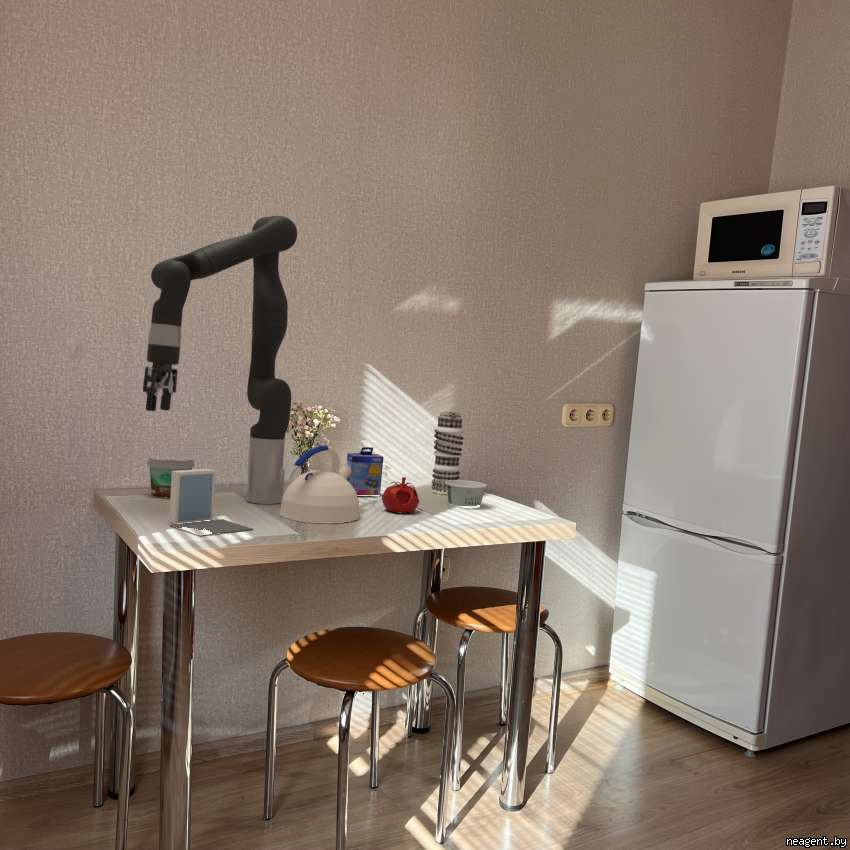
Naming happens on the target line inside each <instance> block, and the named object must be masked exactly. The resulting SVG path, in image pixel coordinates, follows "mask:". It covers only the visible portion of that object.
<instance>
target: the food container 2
mask: <svg viewBox="0 0 850 850" xmlns="http://www.w3.org/2000/svg"><path fill="white" fill-rule="evenodd" d="M445 483H446V484H447V495H446V496H447V504H448V503H450V504H453V505H458V506H477V505H482V502H483V497H484V494H485V490H486V488H487V486H488V485H487V484H486V483H483V482H479V481H474V480H463V479H458V480H449V481H446V482H445Z"/></svg>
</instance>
